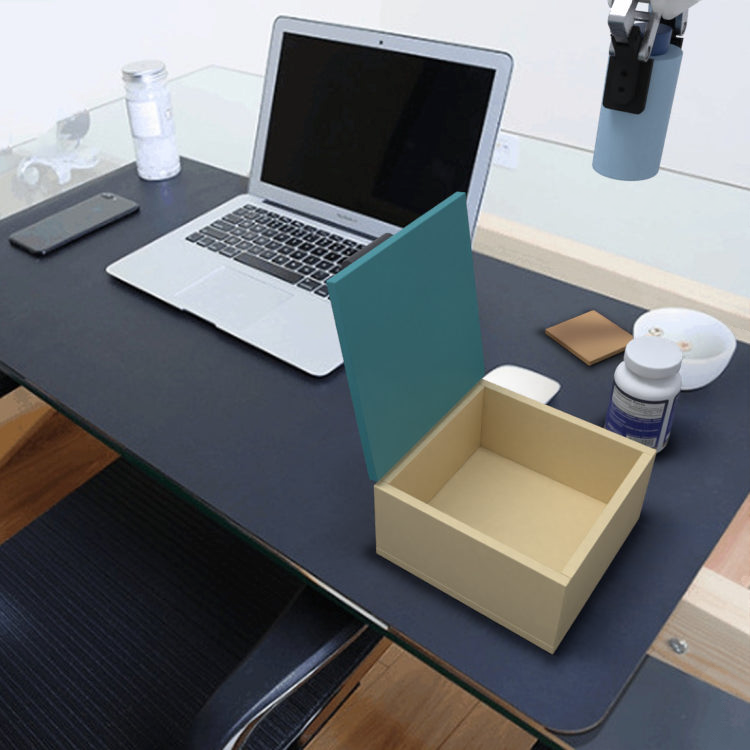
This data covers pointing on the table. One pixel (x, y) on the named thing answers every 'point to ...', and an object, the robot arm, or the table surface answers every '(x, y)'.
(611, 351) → the coaster mat
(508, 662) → the table surface
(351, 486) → the table surface
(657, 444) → the pill bottle
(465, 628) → the table surface
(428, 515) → the tan wooden box
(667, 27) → the water bottle
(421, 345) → the teal box lid
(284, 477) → the table surface
